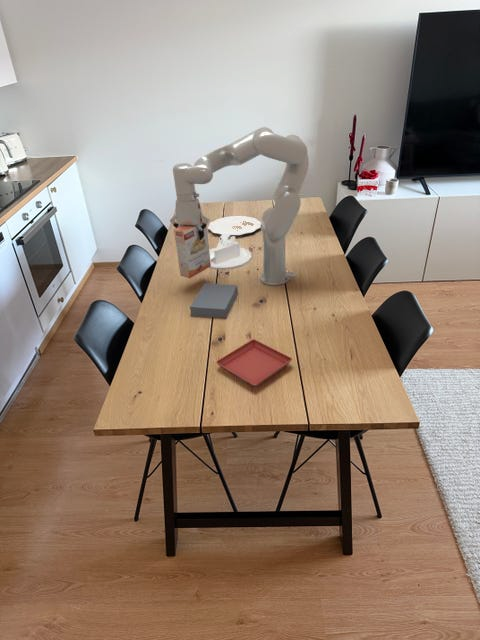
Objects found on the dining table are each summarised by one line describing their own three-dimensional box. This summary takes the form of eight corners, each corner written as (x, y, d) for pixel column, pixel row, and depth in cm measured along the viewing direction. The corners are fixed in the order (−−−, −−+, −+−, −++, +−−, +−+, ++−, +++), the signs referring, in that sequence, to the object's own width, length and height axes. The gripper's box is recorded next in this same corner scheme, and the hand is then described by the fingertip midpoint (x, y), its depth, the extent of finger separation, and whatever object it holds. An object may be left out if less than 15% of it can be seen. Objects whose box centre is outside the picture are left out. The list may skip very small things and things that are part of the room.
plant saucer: (215, 369, 155) (214, 361, 153) (253, 345, 165) (253, 337, 163) (255, 393, 143) (254, 385, 142) (293, 366, 154) (293, 358, 152)
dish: (218, 245, 243) (216, 224, 237) (260, 253, 231) (260, 232, 225) (190, 264, 225) (187, 242, 219) (234, 274, 214) (233, 251, 208)
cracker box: (190, 279, 196) (183, 231, 185) (180, 276, 199) (172, 229, 188) (212, 266, 205) (206, 220, 194) (201, 263, 208) (195, 218, 197)
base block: (237, 293, 197) (237, 285, 195) (225, 318, 181) (225, 309, 179) (205, 291, 200) (204, 283, 198) (191, 315, 184) (190, 306, 182)
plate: (200, 226, 268) (200, 222, 267) (247, 216, 278) (247, 212, 277) (220, 243, 245) (220, 238, 244) (270, 232, 255) (270, 227, 254)
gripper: (210, 193, 186) (214, 235, 195) (168, 193, 190) (175, 234, 199) (204, 199, 180) (209, 242, 189) (162, 199, 184) (169, 241, 193)
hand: (191, 238), depth 194 cm, fingers closed on cracker box, 7 cm apart
